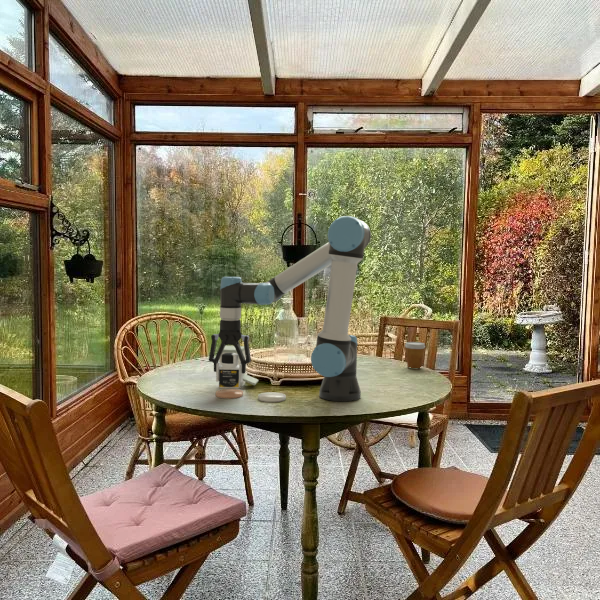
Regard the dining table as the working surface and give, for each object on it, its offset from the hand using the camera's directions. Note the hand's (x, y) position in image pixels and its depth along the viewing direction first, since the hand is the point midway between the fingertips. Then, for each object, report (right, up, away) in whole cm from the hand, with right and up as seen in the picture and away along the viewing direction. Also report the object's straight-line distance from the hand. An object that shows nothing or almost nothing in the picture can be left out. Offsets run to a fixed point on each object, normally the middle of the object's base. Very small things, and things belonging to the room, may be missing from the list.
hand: (229, 381), depth 203 cm
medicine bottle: (0, -2, 0) cm, 2 cm away
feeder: (+2, -4, +16) cm, 17 cm away
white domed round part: (+16, -6, -4) cm, 17 cm away
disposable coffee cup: (+80, -3, +62) cm, 101 cm away
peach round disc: (0, -5, 0) cm, 5 cm away
